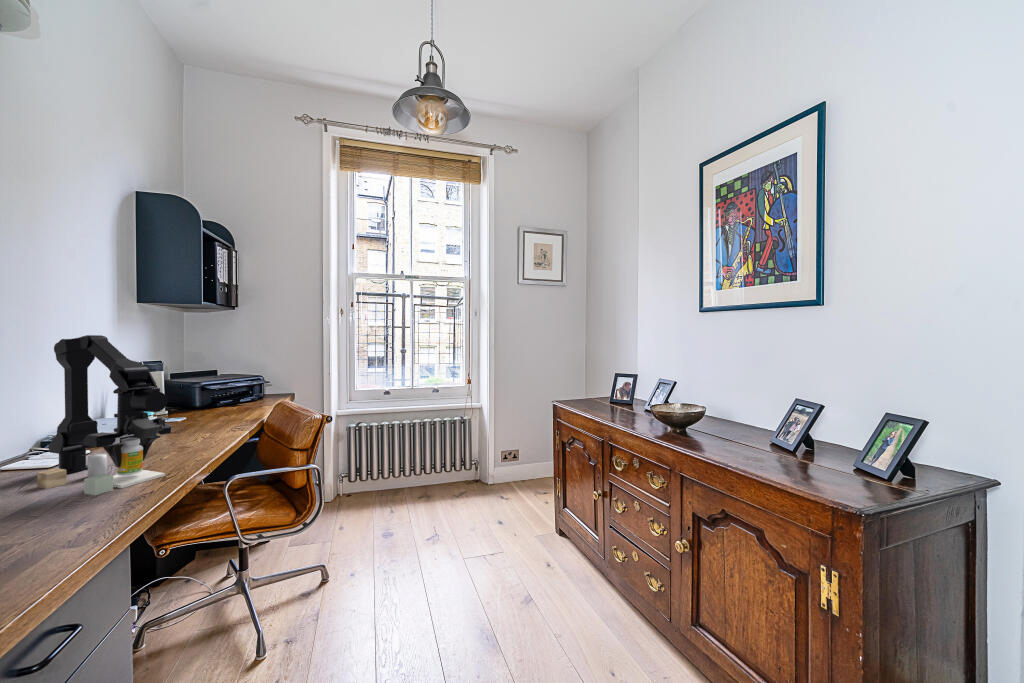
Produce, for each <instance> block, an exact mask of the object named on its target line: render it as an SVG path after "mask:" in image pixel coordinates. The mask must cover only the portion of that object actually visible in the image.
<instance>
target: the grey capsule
mask: <svg viewBox="0 0 1024 683" xmlns="http://www.w3.org/2000/svg"><path fill="white" fill-rule="evenodd" d="M87 465H88V469H87V478H89V477H93V476H97V475H101V474H107V475H108V453H97V454H91V455H89V456H87Z"/></svg>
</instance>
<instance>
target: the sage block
mask: <svg viewBox="0 0 1024 683" xmlns="http://www.w3.org/2000/svg"><path fill="white" fill-rule="evenodd" d="M113 476H114V475H112V474H108V473H107V474H101V475H97V476H93V477H89V478H88V477H86V478H83V479H84V485H83V486H84V488H83V490H84V492H83V493H84V495H89V494H90V496H97V495H102V494H104V492H105V493H108V491H109V492H112V491H114V487H113ZM111 490H112V491H111ZM101 493H102V494H101Z"/></svg>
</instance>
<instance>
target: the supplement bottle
mask: <svg viewBox="0 0 1024 683" xmlns="http://www.w3.org/2000/svg"><path fill="white" fill-rule="evenodd" d="M120 443H122V444H124V445H123V446H122V448H121V466H120V467H116V468H117V469H116V470H117V471H116V472H117V473H116V475H122V476H125V475H133V474H137V473H140V472H142V470H144V469H143V466H144V461H143V446H141V445H139V443H140V439H139V438H137V437H130V438H124V439H120Z"/></svg>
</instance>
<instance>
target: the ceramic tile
mask: <svg viewBox="0 0 1024 683" xmlns="http://www.w3.org/2000/svg"><path fill="white" fill-rule="evenodd" d="M165 476H166V473H164V472H160V471H153V470H146V469H143V470H142V472H140V473H137V474H133V475H125V476H122V475H118V474H115V475H113V488H116V487H117V489H123V488H127V487H131V486H134V485H138V484H141V483H145V482H148V481H151V480H155V479H158V478H161V477H165Z"/></svg>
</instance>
